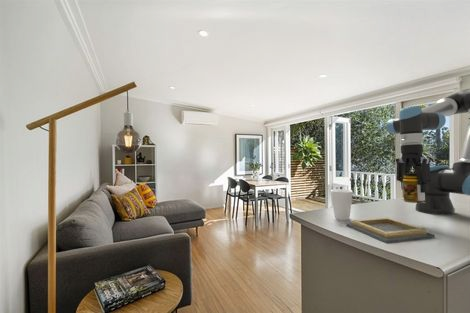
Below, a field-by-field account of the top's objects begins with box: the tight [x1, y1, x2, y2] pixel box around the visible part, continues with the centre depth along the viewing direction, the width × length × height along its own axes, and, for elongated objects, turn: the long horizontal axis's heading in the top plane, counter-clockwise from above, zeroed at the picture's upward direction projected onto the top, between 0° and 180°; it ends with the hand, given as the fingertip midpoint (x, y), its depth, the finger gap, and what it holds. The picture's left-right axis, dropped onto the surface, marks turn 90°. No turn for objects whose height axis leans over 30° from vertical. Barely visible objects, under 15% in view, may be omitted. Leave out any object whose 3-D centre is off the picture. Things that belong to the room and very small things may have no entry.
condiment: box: [400, 172, 425, 204], centre depth 98 cm, size 7×8×12 cm
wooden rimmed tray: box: [345, 217, 436, 244], centre depth 89 cm, size 20×20×2 cm
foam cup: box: [330, 188, 354, 221], centre depth 109 cm, size 10×9×13 cm
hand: (413, 198), depth 98 cm, fingers closed on condiment, 6 cm apart
